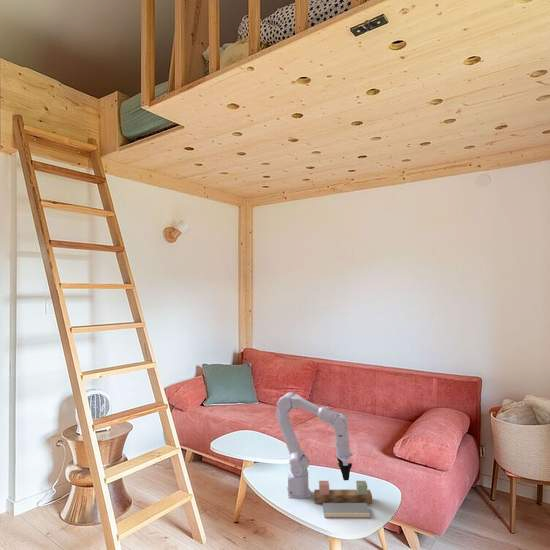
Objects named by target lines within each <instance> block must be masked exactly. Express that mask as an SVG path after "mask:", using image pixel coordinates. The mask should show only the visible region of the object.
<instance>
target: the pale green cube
mask: <svg viewBox="0 0 550 550" xmlns="http://www.w3.org/2000/svg"><path fill="white" fill-rule="evenodd" d="M355 484H356V488H355V489H356V490H357V493H358V495H368V492H367V490H368V483H367V481H366V480H356V481H355Z"/></svg>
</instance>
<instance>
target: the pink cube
mask: <svg viewBox="0 0 550 550" xmlns="http://www.w3.org/2000/svg"><path fill="white" fill-rule="evenodd" d="M318 485H319V486H318V490H319V492H320V495H329V490H330V482H329V480H318Z"/></svg>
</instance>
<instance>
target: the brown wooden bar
mask: <svg viewBox="0 0 550 550" xmlns="http://www.w3.org/2000/svg"><path fill="white" fill-rule="evenodd" d="M367 492H368V495H358V493H357V489H329V495H320V492H319V489H314V504H315V505H323V503H367V505H373V495H372V492H371V489H367Z"/></svg>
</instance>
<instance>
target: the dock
mask: <svg viewBox="0 0 550 550" xmlns="http://www.w3.org/2000/svg"><path fill="white" fill-rule="evenodd" d="M322 511H323V516H324V518H371V512H370V510H369V507H368V504H367V503H323V504H322Z"/></svg>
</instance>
